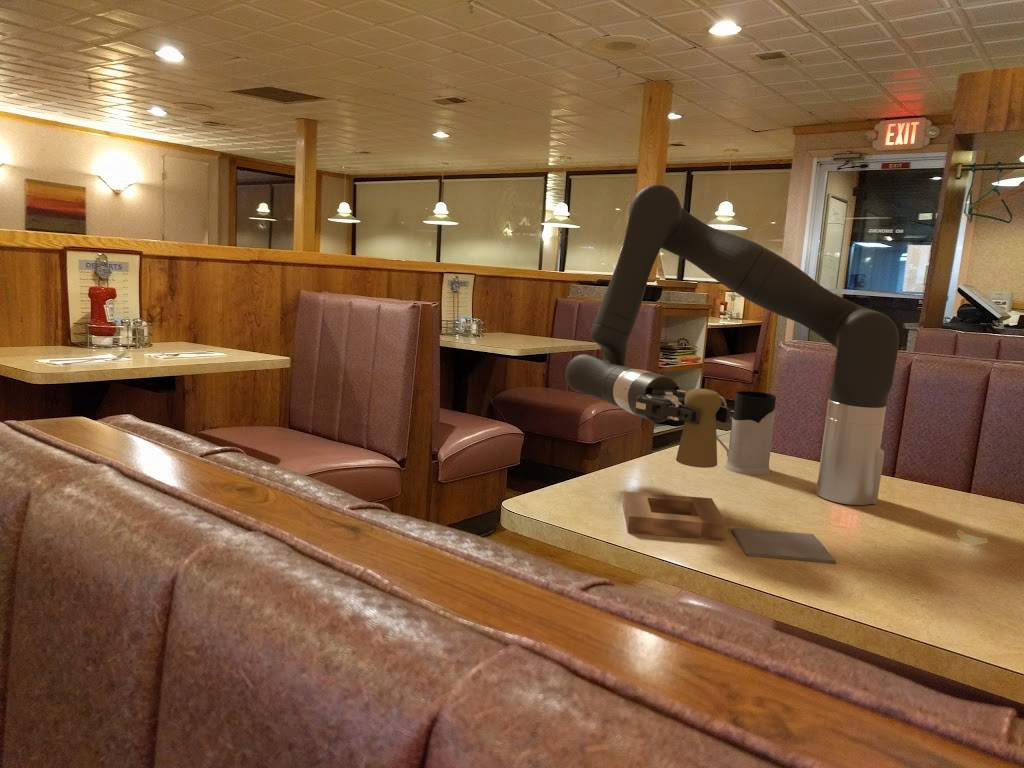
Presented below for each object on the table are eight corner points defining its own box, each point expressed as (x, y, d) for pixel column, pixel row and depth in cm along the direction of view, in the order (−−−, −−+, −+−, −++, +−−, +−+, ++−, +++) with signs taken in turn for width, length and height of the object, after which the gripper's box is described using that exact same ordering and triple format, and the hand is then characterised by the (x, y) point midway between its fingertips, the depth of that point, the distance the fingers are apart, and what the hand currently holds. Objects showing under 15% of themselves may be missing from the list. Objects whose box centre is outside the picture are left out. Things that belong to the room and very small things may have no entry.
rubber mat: (812, 536, 113) (813, 534, 113) (835, 563, 103) (835, 560, 103) (731, 529, 114) (732, 527, 114) (746, 555, 104) (746, 552, 104)
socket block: (710, 513, 121) (711, 498, 121) (724, 540, 109) (726, 524, 109) (622, 505, 122) (623, 491, 122) (627, 532, 110) (629, 516, 110)
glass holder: (763, 478, 144) (773, 400, 141) (691, 463, 151) (699, 389, 149) (775, 468, 151) (784, 395, 148) (706, 455, 158) (713, 384, 156)
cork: (718, 469, 109) (726, 395, 108) (676, 465, 111) (683, 391, 109) (716, 458, 115) (723, 388, 113) (675, 454, 116) (682, 384, 115)
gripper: (610, 372, 121) (676, 393, 106) (682, 371, 127) (754, 390, 112) (606, 418, 122) (671, 445, 107) (678, 414, 128) (749, 439, 113)
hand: (713, 416), depth 109 cm, fingers closed on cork, 5 cm apart
